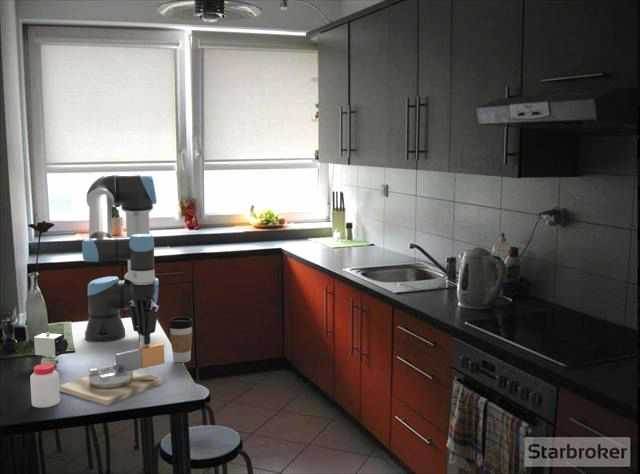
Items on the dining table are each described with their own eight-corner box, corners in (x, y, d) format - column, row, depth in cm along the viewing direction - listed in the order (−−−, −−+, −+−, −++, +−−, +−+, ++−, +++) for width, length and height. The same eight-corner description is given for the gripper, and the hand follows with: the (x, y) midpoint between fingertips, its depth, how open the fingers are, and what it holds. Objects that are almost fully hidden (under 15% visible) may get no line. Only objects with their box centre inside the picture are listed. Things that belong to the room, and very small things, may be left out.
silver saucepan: (100, 391, 197) (98, 364, 196) (82, 380, 207) (81, 354, 206) (173, 373, 214) (172, 348, 213) (153, 363, 223) (152, 339, 222)
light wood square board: (115, 370, 222) (115, 365, 222) (162, 382, 210) (162, 377, 210) (58, 390, 203) (58, 385, 203) (107, 405, 192) (106, 399, 192)
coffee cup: (164, 362, 230) (163, 320, 228) (178, 355, 238) (177, 314, 236) (185, 365, 227) (184, 322, 225) (198, 357, 235) (197, 316, 233)
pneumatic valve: (61, 370, 222) (59, 335, 220) (30, 367, 224) (28, 333, 223) (70, 364, 227) (69, 331, 226) (40, 362, 230) (38, 329, 228)
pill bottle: (59, 406, 191) (57, 369, 190) (30, 409, 189) (27, 371, 188) (61, 396, 199) (59, 361, 197) (33, 399, 197) (31, 363, 195)
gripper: (119, 281, 213) (122, 352, 216) (148, 286, 206) (150, 359, 209) (137, 278, 219) (139, 347, 222) (165, 282, 212) (167, 353, 215)
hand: (144, 353), depth 216 cm, fingers closed
